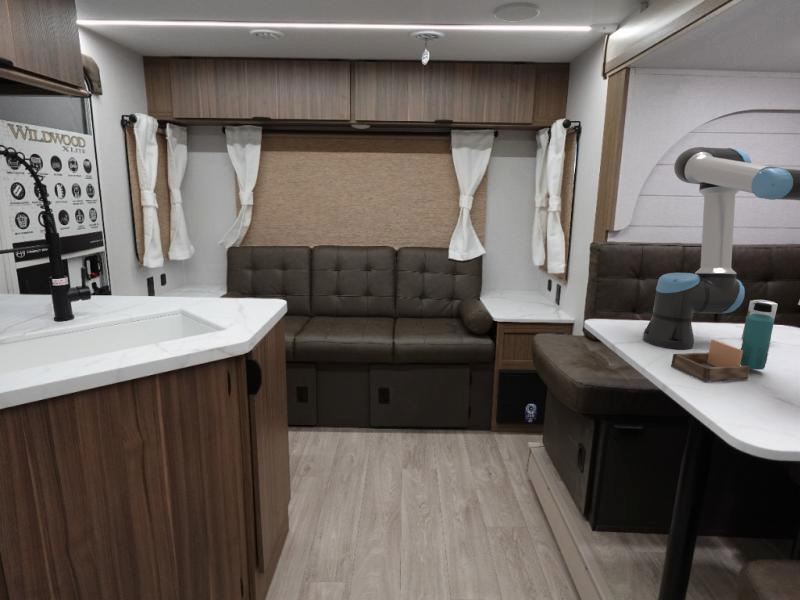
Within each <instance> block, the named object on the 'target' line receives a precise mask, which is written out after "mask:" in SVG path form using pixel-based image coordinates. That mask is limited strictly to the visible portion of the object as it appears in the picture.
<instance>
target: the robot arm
mask: <svg viewBox="0 0 800 600" xmlns="http://www.w3.org/2000/svg"><path fill="white" fill-rule="evenodd" d="M673 165H674V166H673V170H674V174H675V176H676V177H677V178H678V179H679V180H680V181H681V182H683V183H686V184H687V183H688V184H692V185H699V191H698V192H699V193H700V194H701V195H703V213H702V214H703V215H702V216H703V217H702V234H701V253H700V268H699V269H698V270H697V271H695V272H694V273H691V272H669V273H664V274H662V275H661V276H660V277H659V278H658V280H657V285H656V287H655V290H656V291H655V297H654V303H653V308H652V316H651V318H650V320H649V322H648V324H647V326H646V328H645V329H644V331H643V335H642V340H643V341H644V342H646V343H649V344H651V345H654V346H658V347H661V348H667V349H675V350H689V349H692V348H693V347H694V345H695V344H694V343H695V335H694V332H693V330H694V329H693V325H692V321H693V315H694V314H714V315H715V314H718V315H720V314H729V313H733V312H735V311H736V310H737V309H738V308H739V307H740V306H741V304H743V301H744V299H745V293H746V291H745V287H744V285H743V283H742V282H741V280H739V279H738V278H737V272H736V271H735V270H734V269H733V268H732V261H733V260H732V259H733V258H732V257H733V242H734V222H735V205H736V203H735V202H736V196H737V195H736V194H737V193H739V192H741V191H742V192H745V193H748V194H754V196H755V197H757V198H759V199H765V200H771V201H772V200H773V201H774V200H782V201H783V200H784V201H785V200H787V201H789V200H790V201H800V169H793V168H783V167H778V166H769V165H764V164H758V163H757V164H756V163H752V160H751V158H750V156H749V155H748V154H747V153H746V152H745V151H744V150H741V149H735V148H731V147H728V148H727V147H724V148H722V147H704V146H696V147H691V148H688V149H686V150H684V151H683V152H682V153H680V154H679V156H678V157H677V158H676V159H675V162H674V164H673ZM798 305H799V306H800V299H799V301H798V303H797V306H798Z"/></svg>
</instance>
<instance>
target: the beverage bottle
mask: <svg viewBox="0 0 800 600" xmlns="http://www.w3.org/2000/svg"><path fill="white" fill-rule="evenodd" d="M753 310H756V311H760V312H772V305H771V304H767V303H760V302H757V303H755V306H754V308H753ZM746 317H747V316H746ZM745 322H746V321H745ZM774 323H775V319H774V320H773V318H772V317H771V316H768V315H764V314H756V313H754V314H751V315H749V316H748V317H747V322H746V327H745V332H744V336H743V340H742V341H741V347H740V349H741V350H743V354H742V358H741V363H740V366H746V365H747V366H750V370H756V371H757V370H760V371H761V370H764V369H765V367H766V364H767V361H768V358H769V357H768V356H769V351H770V346H771V345H770V344H771V340H772V334H773V329H774Z"/></svg>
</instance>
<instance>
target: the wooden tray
mask: <svg viewBox="0 0 800 600" xmlns="http://www.w3.org/2000/svg"><path fill="white" fill-rule="evenodd" d="M708 354H709V351H708V352H689V353H673V354H672V359H671V364H670V367H671V368H674V369H676V370H678V371H679V372H682V373H684V374H686V375H689V376H690V377H692V376H693V378H694V377H695V378H694V379H697V380H699V381H701V382H704V383H716V382H717V383H719V382H720V381H721V382H736V381H748V380H749V379H748V378H749V375H750V370H751V369H750V366H747V365H746V366H741V365H740V366H727V367H715V366H713V365H711V364H708V363H707V359H708ZM721 382H720V383H721Z"/></svg>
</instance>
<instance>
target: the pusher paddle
mask: <svg viewBox="0 0 800 600" xmlns="http://www.w3.org/2000/svg"><path fill="white" fill-rule="evenodd" d="M708 352H709V354H708V359H707V363H708V364H711V365H713V366H715V367H727V366H741V365H740V363H741V358H742V354H743V350H741V348H738V347H735V346H732V345H729V344H726V343H724V342H722V341H719V340H715V339H711V340H710V343H709V351H708Z"/></svg>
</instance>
